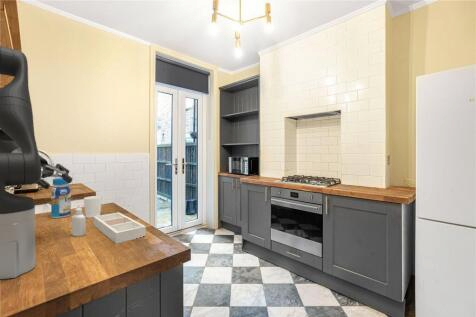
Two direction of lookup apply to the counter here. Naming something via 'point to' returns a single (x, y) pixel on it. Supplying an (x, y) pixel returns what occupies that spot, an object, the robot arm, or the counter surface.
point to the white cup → (92, 206)
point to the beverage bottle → (60, 199)
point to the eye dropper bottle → (78, 223)
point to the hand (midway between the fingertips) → (60, 184)
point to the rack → (119, 227)
